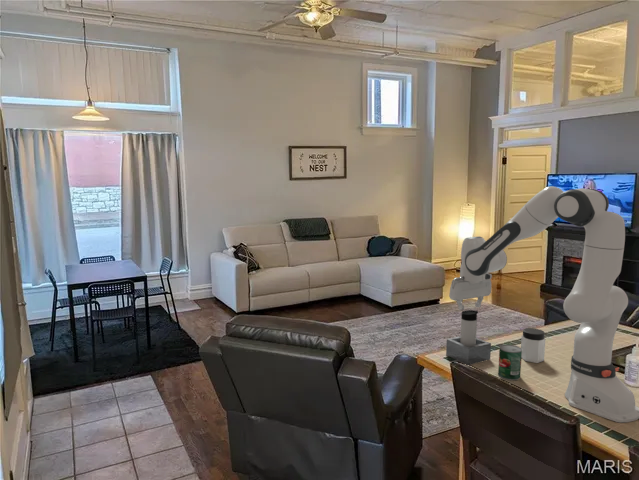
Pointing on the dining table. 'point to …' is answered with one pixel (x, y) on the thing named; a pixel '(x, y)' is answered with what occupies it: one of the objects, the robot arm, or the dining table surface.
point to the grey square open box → (468, 351)
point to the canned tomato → (509, 362)
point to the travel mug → (468, 328)
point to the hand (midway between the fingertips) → (469, 308)
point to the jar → (533, 345)
